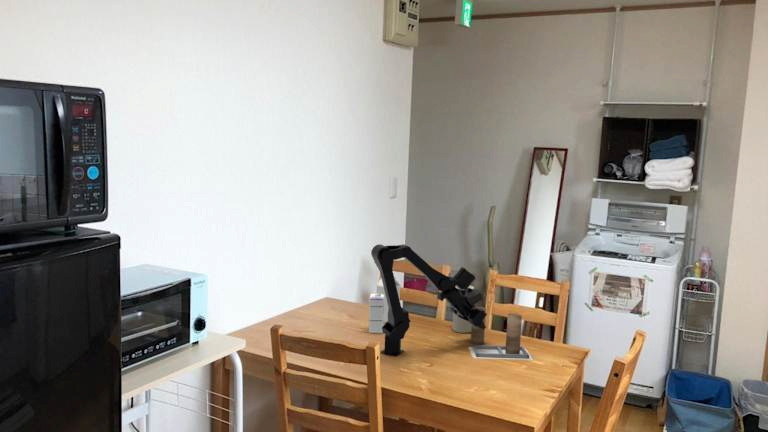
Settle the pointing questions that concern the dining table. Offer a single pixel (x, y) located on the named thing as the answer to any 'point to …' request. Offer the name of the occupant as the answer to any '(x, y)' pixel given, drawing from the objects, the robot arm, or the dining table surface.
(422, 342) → the dining table surface
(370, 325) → the syrup box
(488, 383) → the dining table surface
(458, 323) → the travel mug
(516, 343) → the billet
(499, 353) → the pallet board
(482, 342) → the billet
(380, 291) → the milk carton
